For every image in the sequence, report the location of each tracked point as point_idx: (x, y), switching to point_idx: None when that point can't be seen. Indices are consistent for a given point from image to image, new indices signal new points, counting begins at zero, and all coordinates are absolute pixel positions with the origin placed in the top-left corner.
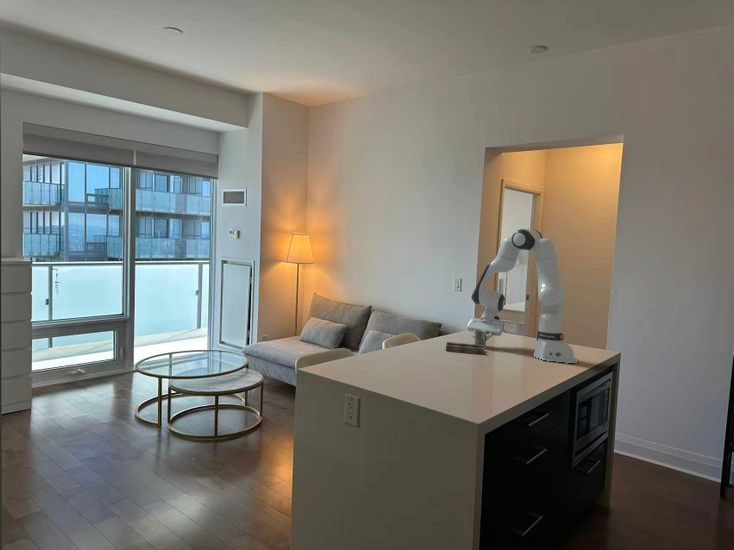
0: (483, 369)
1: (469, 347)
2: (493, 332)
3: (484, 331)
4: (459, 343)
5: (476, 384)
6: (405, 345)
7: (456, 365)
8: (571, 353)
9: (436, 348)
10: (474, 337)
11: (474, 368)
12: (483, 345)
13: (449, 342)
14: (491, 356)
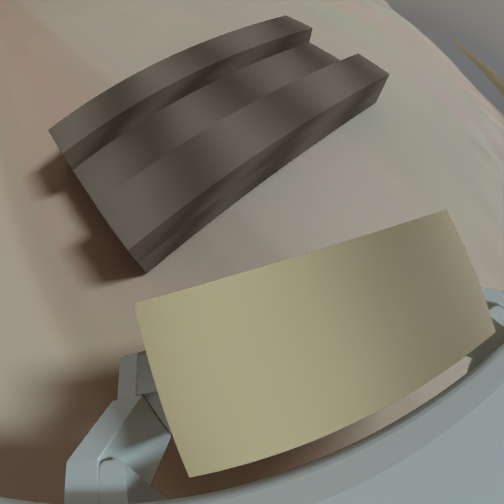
0: (12, 45)
1: (157, 66)
2: (19, 502)
3: (155, 301)
4: (320, 93)
5: (13, 11)
6: (425, 38)
7: (93, 4)
8: None
9: None
10: None
11: (37, 29)
12: (122, 237)
13: (370, 72)
14: (17, 185)
